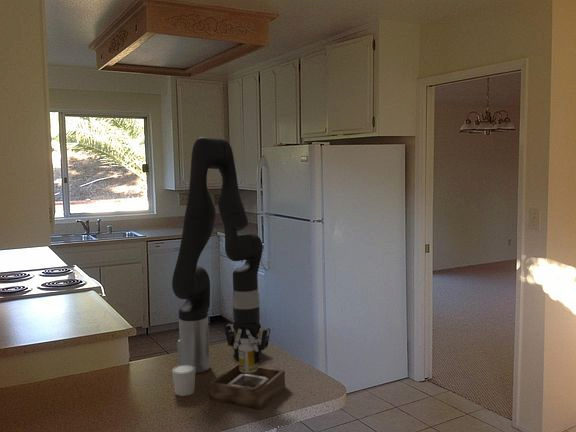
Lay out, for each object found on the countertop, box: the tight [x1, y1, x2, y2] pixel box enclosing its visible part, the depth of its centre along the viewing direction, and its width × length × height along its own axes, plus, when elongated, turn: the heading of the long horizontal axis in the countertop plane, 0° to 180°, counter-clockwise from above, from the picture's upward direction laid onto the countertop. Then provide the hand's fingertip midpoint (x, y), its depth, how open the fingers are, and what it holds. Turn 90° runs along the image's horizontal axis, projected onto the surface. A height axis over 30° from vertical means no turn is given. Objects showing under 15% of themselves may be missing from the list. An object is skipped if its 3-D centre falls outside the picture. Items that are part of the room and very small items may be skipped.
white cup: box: [171, 365, 196, 397], centre depth 161 cm, size 7×7×7 cm
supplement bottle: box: [238, 338, 259, 373], centre depth 158 cm, size 5×5×10 cm
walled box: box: [209, 362, 286, 410], centre depth 159 cm, size 16×16×5 cm
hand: (248, 361), depth 158 cm, fingers closed on supplement bottle, 5 cm apart
